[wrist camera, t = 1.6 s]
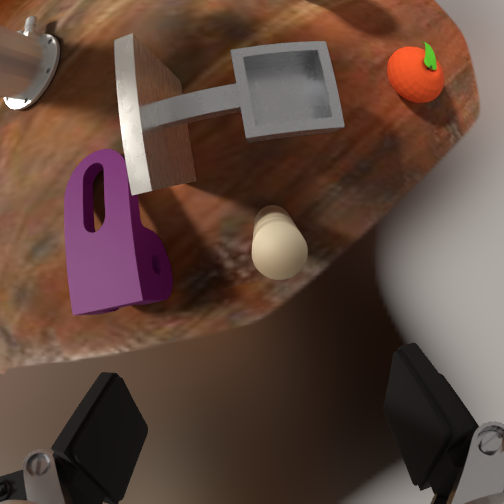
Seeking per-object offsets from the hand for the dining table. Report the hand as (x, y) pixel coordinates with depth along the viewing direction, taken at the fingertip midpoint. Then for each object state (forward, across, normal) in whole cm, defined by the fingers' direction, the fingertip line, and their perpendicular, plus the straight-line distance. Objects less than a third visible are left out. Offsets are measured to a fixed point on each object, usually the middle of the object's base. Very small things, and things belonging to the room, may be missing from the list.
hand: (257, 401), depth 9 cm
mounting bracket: (+25, +17, -4) cm, 30 cm away
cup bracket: (+25, 0, -13) cm, 28 cm away
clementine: (+25, -20, -18) cm, 37 cm away
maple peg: (+25, -2, -1) cm, 25 cm away
